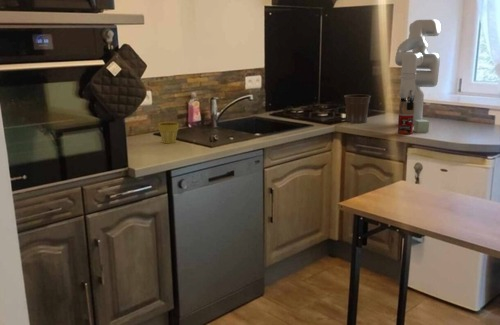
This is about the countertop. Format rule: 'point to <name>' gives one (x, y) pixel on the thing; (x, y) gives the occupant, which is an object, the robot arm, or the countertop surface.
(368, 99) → the plant pot
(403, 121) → the canned food
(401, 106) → the cube walnut
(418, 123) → the cube sage
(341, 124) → the countertop surface
